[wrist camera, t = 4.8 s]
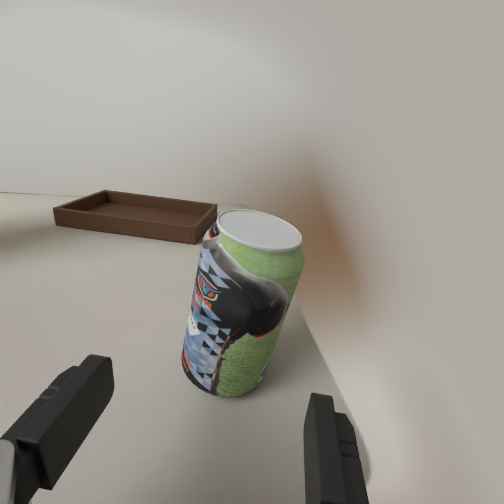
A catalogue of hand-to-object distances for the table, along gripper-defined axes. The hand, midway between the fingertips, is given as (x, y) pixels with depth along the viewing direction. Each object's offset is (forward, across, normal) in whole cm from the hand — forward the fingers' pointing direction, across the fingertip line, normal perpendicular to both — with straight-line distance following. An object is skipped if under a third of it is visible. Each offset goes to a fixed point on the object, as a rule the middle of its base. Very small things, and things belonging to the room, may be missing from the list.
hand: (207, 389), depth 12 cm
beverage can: (+8, 0, +7) cm, 11 cm away
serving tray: (+37, +20, +7) cm, 43 cm away
